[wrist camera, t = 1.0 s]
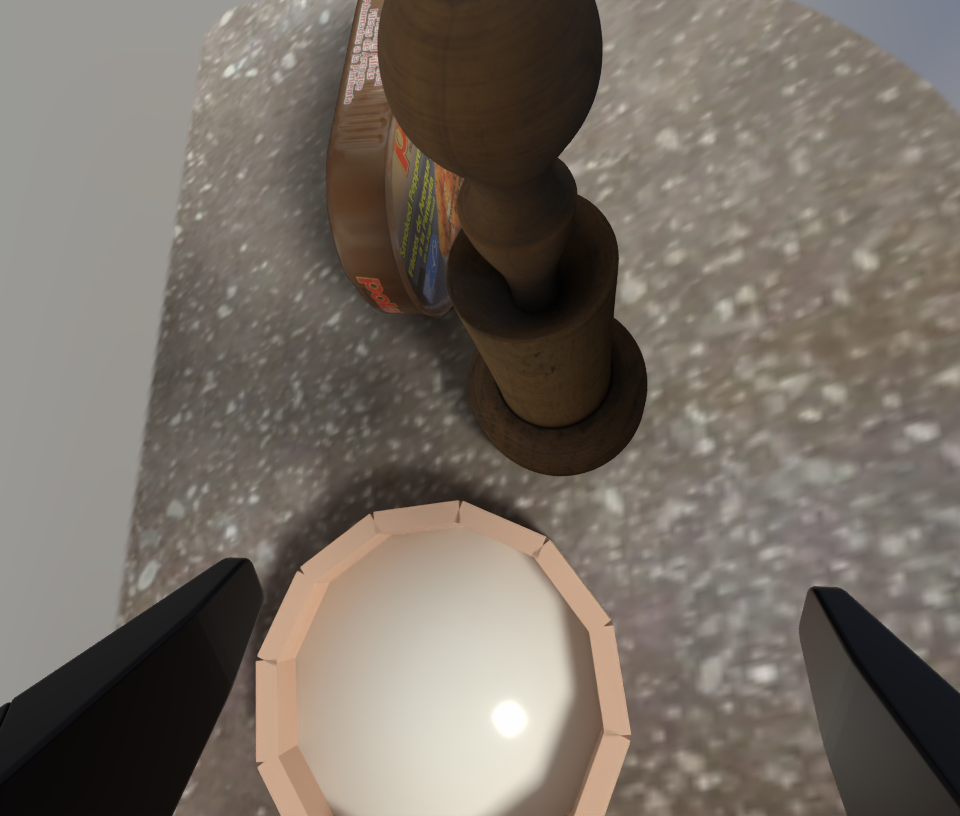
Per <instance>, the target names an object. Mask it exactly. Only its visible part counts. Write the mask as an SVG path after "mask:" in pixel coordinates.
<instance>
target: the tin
mask: <svg viewBox="0 0 960 816" xmlns="http://www.w3.org/2000/svg"><path fill="white" fill-rule="evenodd" d="M383 3H384V0H358V1H357V6H356V11H355V15H354V20H353V25H352V30H351V35H350V39H349V45H348V49H347V54H346V59H345V64H344V69H343V74H342V79H341V84H340V89H339V95H338V100H337V104H336V109H335V115H334V120H333V125H332V129H331V134H330V140H329V145H328V151H327V163H326V198H327V209H328V216H329V222H330V228H331V233H332V237H333V241H334V244H335V248H336V251H337V254H338V257H339V260H340V263H341V265H342V268H343V270H344V271H345V273H346V275H347V277H348V278H349V279H350V280H351V282H352V283H353V284H354V285H355V287H356V288H357V289H358V291H359V292H360V294H361V295H362V296H363V297H364V299H365V300H366V301H367V302H368V303H369V304H370V305H371V306H373V307H374V308H375V309H377V310H379V311H381V312H384V313H391V314H425V315H428V316H430V317H441V316H443V315H445V314H446V313H448V312H449V311H450V309H451V308H452V307H453V305H452V303H451V300H450V298H449V296H448V292H447V288H446V265H447V259H448V255H449V252H450V249H451V246H452V244H453V241H454V239H455V238H456V236H457V234H458V232H459V230H460V229H461V228H462V227H461V224H460V222H459V218H458V214H457V198H458V193H459V190H460V187H461V185H462V183H463V181H464V179H463V178H461V177H460V176H458V175H456V174H454V173H452V172H450V171H447V170H446V169H444V168H442V167H441V166H439V165H438V164H436V163H435V162H433V161H432V160H431V159H429V158H428V157H427V156H426V155H424V154H423V153H422V152H421V151H420V150H419V149H418V148H417V147H416V146H415V145H414V144H413V143H412V142H411V141H410V140H409V139H408V137H407V136H406V135H405V133H404V132H403V131H402V129H401V127H400V126H399V124H398V123H397V121H396V119H395V117H394V115H393V113H392V111H391V109H390V106H389V104H388V101H387V98H386V95H385V92H384V89H383V85H382V81H381V77H380V71H379V64H378V50H377V37H378V27H379V21H380V15H381V11H382V7H383Z"/></svg>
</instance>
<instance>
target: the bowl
mask: <svg viewBox="0 0 960 816" xmlns="http://www.w3.org/2000/svg"><path fill="white" fill-rule="evenodd" d="M300 568H301V570H302V571H297V572H296V574H295V576H294V579H293V581H292V583H291V585H290V587H289V589H288V591H287V593H286V596H285V598H284V600H283V602H282V604H281V606H280V608H279V610H278V613H277V615H276V617H275V619H274V621H273V623H272V625H271V627H270V630H269V632H268V634H267V636H266V638H265V640H264V642H263V644H262V647H261V649H260V651H259V653H258V655H257V656H258V657H259V658H261V659H262V660H259V661H256V762H264V761H265V762H264V763H262V764H261V765H260V766H258V767H257V768H258V770H259V772H260V774H261V776H262V778H263V780H264V782H265V784H266V786H267V788H268V790H269V792H270V794H271V796H272V798H273V800H274V802H275V804H276V806H277V808H278V810H279V813H280V815H281V816H604V815H605V812H606V810H607V807H608V804H609V801H610V798H611V795H612V793H613V790H614V787H615V784H616V781H617V778H618V775H619V773H620V770H621V767H622V764H623V761H624V758H625V755H626V753H627V750H628V747H629V744H630V741H631V740H630V735H631V731H630V725H629V719H628V713H627V707H626V700H625V694H624V688H623V682H622V676H621V670H620V664H619V658H618V651H617V645H616V639H615V633H614V627H613V623H612V620H611V619H610V615H609V614H608V613H607V611H606V610H605V609H604V607H603V606H602V605H601V604H600V602H599V601H598V600H597V598H596V597H595V596H594V594H593V593H592V592H591V590H590V589H589V588H588V586H587V585H586V584H585V582H584V581H583V580H582V579H581V577H580V576H579V575H578V573H577V572H576V571H575V569H574V568H573V567H572V565H571V564H570V563H569V561H568V560H567V559H566V557H565V556H564V555H563V553H562V552H561V551H560V550H559V548H558V547H557V546H556V544H555V543H554V542H553V541H551V540H550V539H549V538H547V537H546V536H543V535H541V534H539V533H536V532H534V531H532V530H529V529H527V528H525V527H522V526H520V525H518V524H515V523H513V522H511V521H509V520H506V519H504V518H502V517H499V516H497V515H495V514H492V513H490V512H488V511H485V510H483V509H481V508H478V507H476V506H474V505H471V504H469V503H467V502H464V501H463V502H461V501H459V500H457V501H449V502H442V503H434V504H427V505H420V506H412V507H405V508H398V509H390V510H383V511H376V512H374V515H373V514H368V515H367V516H366V517H364V518H363V519H362V520H360V521H359V522H358V523H357V524H355V525H354V526H353V527H351V528H350V529H349V530H348V531H346V532H345V533H344V534H342V535H341V536H340V537H338V538H337V539H336V540H335V541H333V542H332V543H331V544H329V545H328V546H327V547H326V548H324V549H323V550H322V551H320V552H319V553H318V554H316V555H315V556H314V557H313V558H311V559H310V560H309V561H307V562H306V563H305V564H304V565H302V566H301V567H300Z"/></svg>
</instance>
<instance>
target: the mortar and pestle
mask: <svg viewBox="0 0 960 816" xmlns="http://www.w3.org/2000/svg"><path fill="white" fill-rule="evenodd" d="M602 48H603V47H602V32H601V24H600V18H599V13H598V9H597V6H596V2H595V0H384V3H383V7H382V11H381V15H380V21H379V27H378V37H377V50H378V64H379V71H380V77H381V81H382V85H383V89H384V92H385V95H386V98H387V101H388V104H389V106H390V109H391V111H392V113H393V115H394V117H395V119H396V121H397V123H398V124H399V126H400V127H401V129H402V131H403V132H404V133H405V135H406V136H407V137H408V139H409V140H410V141H411V142H412V143H413V144H414V145H415V146H416V147H417V148H418V149H419V150H420V151H421V152H422V153H423V154H424V155H426V156H427V157H428V158H429V159H431V160H432V161H433V162H435V163H436V164H438V165H439V166H441V167H442V168H444V169H446V170H447V171H450V172H452V173H454V174H456V175H458V176H460V177H461V178H463V179H464V181H463V183H462V185H461V187H460V190H459V193H458V198H457V214H458V218H459V222H460V224H461V227H462V228H461V229H460V230H459V232H458V234H457V236H456V238H455V239H454V241H453V244H452V246H451V249H450V252H449V255H448V259H447V265H446V288H447V292H448V296H449V298H450V300H451V303H452V305H453V307H454V309H455V310H456V312H457V314H458V316H459V317H460V319H461V321H462V323H463V324H464V326H465V328H466V329H467V331H468V333H469V334H470V336H471V338H472V339H473V341H474V343H475V345H476V346H477V350H476V352H475V355H474V357H473V360H472V364H471V368H470V373H469V395H470V401H471V405H472V408H473V411H474V414H475V416H476V418H477V420H478V422H479V424H480V426H481V427H482V429H483V430H484V432H485V433H486V434H487V436H488V437H489V438H490V440H491V441H492V442H493V443H494V445H495V446H496V447H497V448H498V449H499V450H500V451H501V452H502V453H503V454H504V455H505V456H507V457H508V458H509V459H510V460H512V461H513V462H515V463H517V464H518V465H520V466H522V467H524V468H526V469H528V470H531V471H534V472H537V473H540V474H545V475H551V476H571V475H577V474H582V473H585V472H589V471H591V470H594V469H596V468H598V467H600V466H602V465H604V464H606V463H607V462H609V461H610V460H612V459H613V458H614V457H616V456H617V455H618V454H619V453H620V452H621V451H622V450H623V449H624V448H625V447H626V446H627V444H628V443H629V442H630V440H631V439H632V438H633V436H634V434H635V433H636V431H637V429H638V426H639V424H640V421H641V418H642V415H643V411H644V407H645V402H646V396H647V373H646V367H645V363H644V359H643V356H642V353H641V351H640V349H639V347H638V345H637V343H636V341H635V340H634V338H633V337H632V335H631V334H630V333H629V331H628V330H627V329H626V328H625V327H624V326H623V325H622V324H621V323H620V322H619V321H618V320H616V319H615V318H614V305H615V294H616V285H617V275H618V262H619V255H618V246H617V241H616V237H615V234H614V232H613V229H612V227H611V225H610V224H609V222H608V220H607V219H606V217H605V216H604V215H603V214H602V212H601V211H600V210H599V209H598V208H597V207H596V206H595V205H594V204H592V203H591V202H590V201H588V200H587V199H585V198H583V197H581V196H580V195H577V187H576V183H575V180H574V178H573V175H572V173H571V172H570V170H569V169H568V167H567V166H566V164H565V163H564V162H563V161H561V160H560V159H559V158H558V156H559V155H560V154H561V153H562V151H563V150H564V149H565V148H566V147H567V145H568V144H569V143H570V142H571V140H572V139H573V138H574V136H575V135H576V134H577V132H578V131H579V129H580V128H581V126H582V124H583V123H584V121H585V119H586V117H587V115H588V113H589V111H590V109H591V106H592V104H593V101H594V99H595V96H596V92H597V89H598V85H599V80H600V74H601V67H602Z"/></svg>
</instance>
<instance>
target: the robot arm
mask: <svg viewBox="0 0 960 816" xmlns="http://www.w3.org/2000/svg"><path fill="white" fill-rule="evenodd" d="M263 600H264V594H263V589H262V586H261V584H260V581H259V579H258V576H257V574H256V571H255V568H254V566H253V564H252V562H251V561H250V560H249V559H247V558H233V557H229V558H225V559H223V560H221V561H220V562H218V563H217V564H215V565H214V566H212V567H210V568H209V569H207V570H206V571H204V572H203V573H201V574H200V575H198V576H197V577H195V578H194V579H192V580H191V581H189V582H188V583H186V584H185V585H183V586H182V587H180V588H179V589H177V590H176V591H174V592H173V593H171V594H170V595H168V596H167V597H165V598H164V599H162V600H161V601H159V602H158V603H156V604H155V605H153V606H152V607H150V608H149V609H147V610H146V611H144V612H143V613H141V614H140V615H138V616H137V617H135V618H134V619H132V620H131V621H129V622H128V623H126V624H125V625H123V626H122V627H120V628H119V629H117V630H116V631H114V632H113V633H111V634H110V635H108V636H107V637H105V638H104V639H102V640H101V641H99V642H98V643H96V644H95V645H93V646H92V647H90V648H89V649H87V650H86V651H84V652H83V653H81V654H80V655H78V656H77V657H75V658H74V659H72V660H71V661H69V662H68V663H66V664H65V665H63V666H62V667H60V668H59V669H57V670H56V671H54V672H53V673H51V674H50V675H48V676H47V677H45V678H44V679H42V680H41V681H39V682H38V683H36V684H35V685H33V686H32V687H30V688H29V689H27V690H26V691H24V692H23V693H21V694H20V695H18V696H17V697H15V698H14V699H13V700H12V702H11V703H10V702H9V703H6V704H4V705H3V706H1V707H0V816H172V815H173V813H174V811H175V809H176V807H177V805H178V803H179V801H180V798H181V796H182V794H183V792H184V790H185V788H186V786H187V784H188V781H189V779H190V777H191V775H192V773H193V771H194V769H195V767H196V765H197V762H198V760H199V758H200V756H201V754H202V752H203V750H204V748H205V746H206V743H207V741H208V739H209V737H210V735H211V733H212V731H213V729H214V726H215V724H216V722H217V720H218V718H219V716H220V714H221V712H222V710H223V707H224V705H225V703H226V701H227V699H228V696H229V694H230V692H231V690H232V687H233V685H234V682H235V680H236V677H237V675H238V672H239V669H240V666H241V664H242V661H243V658H244V655H245V653H246V650H247V647H248V644H249V641H250V639H251V636H252V633H253V630H254V627H255V625H256V622H257V619H258V616H259V614H260V611H261V608H262V605H263ZM799 635H800V642H801V646H802V651H803V656H804V660H805V665H806V669H807V674H808V678H809V683H810V687H811V692H812V696H813V701H814V705H815V710H816V714H817V719H818V724H819V728H820V732H821V736H822V740H823V744H824V748H825V751H826V754H827V757H828V761H829V764H830V767H831V770H832V773H833V776H834V779H835V781H836V784H837V787H838V790H839V793H840V796H841V799H842V802H843V805H844V808H845V811H846V814H847V816H960V693H959V692H958V691H957V690H956V689H954V688H953V687H952V686H951V685H950V684H949V683H948V682H947V681H946V680H944V679H943V678H942V677H941V676H940V675H939V674H938V673H937V672H935V671H934V670H933V669H932V668H931V667H930V666H929V665H928V664H927V663H925V662H924V661H923V660H922V659H921V658H920V657H919V656H918V655H916V654H915V653H914V652H913V651H912V650H911V649H910V648H909V647H908V646H906V645H905V644H904V643H903V642H902V641H901V640H900V639H899V638H897V637H896V636H895V635H894V634H893V633H892V632H891V631H890V630H889V629H887V628H886V627H885V626H884V625H883V624H882V623H881V622H880V621H878V620H877V619H876V618H875V617H874V616H873V615H872V614H871V613H870V612H868V611H867V610H866V609H865V608H864V607H863V606H862V605H861V604H859V603H858V602H857V601H856V600H855V599H854V598H853V597H852V596H851V595H849V594H848V593H847V592H846V591H845V590H843V589H841V588H838V587H820V586H814V587H811V588H810V589H809V590H808V592H807V596H806V600H805V604H804V608H803V612H802V616H801V620H800V625H799Z"/></svg>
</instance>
